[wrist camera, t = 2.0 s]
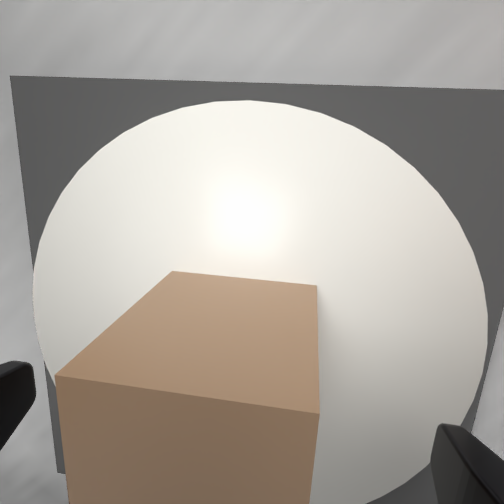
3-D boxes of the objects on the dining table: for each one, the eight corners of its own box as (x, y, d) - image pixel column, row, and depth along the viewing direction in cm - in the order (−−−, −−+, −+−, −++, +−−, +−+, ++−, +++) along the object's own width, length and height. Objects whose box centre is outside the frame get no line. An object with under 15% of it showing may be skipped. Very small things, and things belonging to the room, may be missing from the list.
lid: (428, 529, 12) (520, 834, 7) (68, 464, 14) (-87, 666, 9) (528, 113, 9) (887, 59, 3) (27, 95, 11) (-284, 41, 5)
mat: (437, 530, 13) (442, 545, 12) (65, 462, 15) (57, 472, 14) (546, 94, 9) (559, 91, 9) (22, 78, 11) (10, 75, 11)
